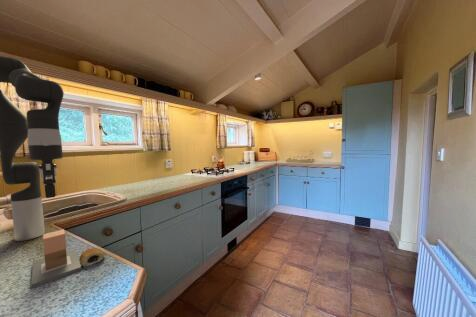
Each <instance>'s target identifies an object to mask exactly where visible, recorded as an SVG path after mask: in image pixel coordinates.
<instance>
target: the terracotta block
mask: <svg viewBox="0 0 476 317" xmlns="http://www.w3.org/2000/svg"><path fill="white" fill-rule="evenodd" d="M42 240H43V253H45V255H46V254H50V253H53V252H57V251H60V250H64V249H66V250H67V242H66V232H65V229H59V230H55V231H51V232H47V233H44V234H43V235H42Z"/></svg>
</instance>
